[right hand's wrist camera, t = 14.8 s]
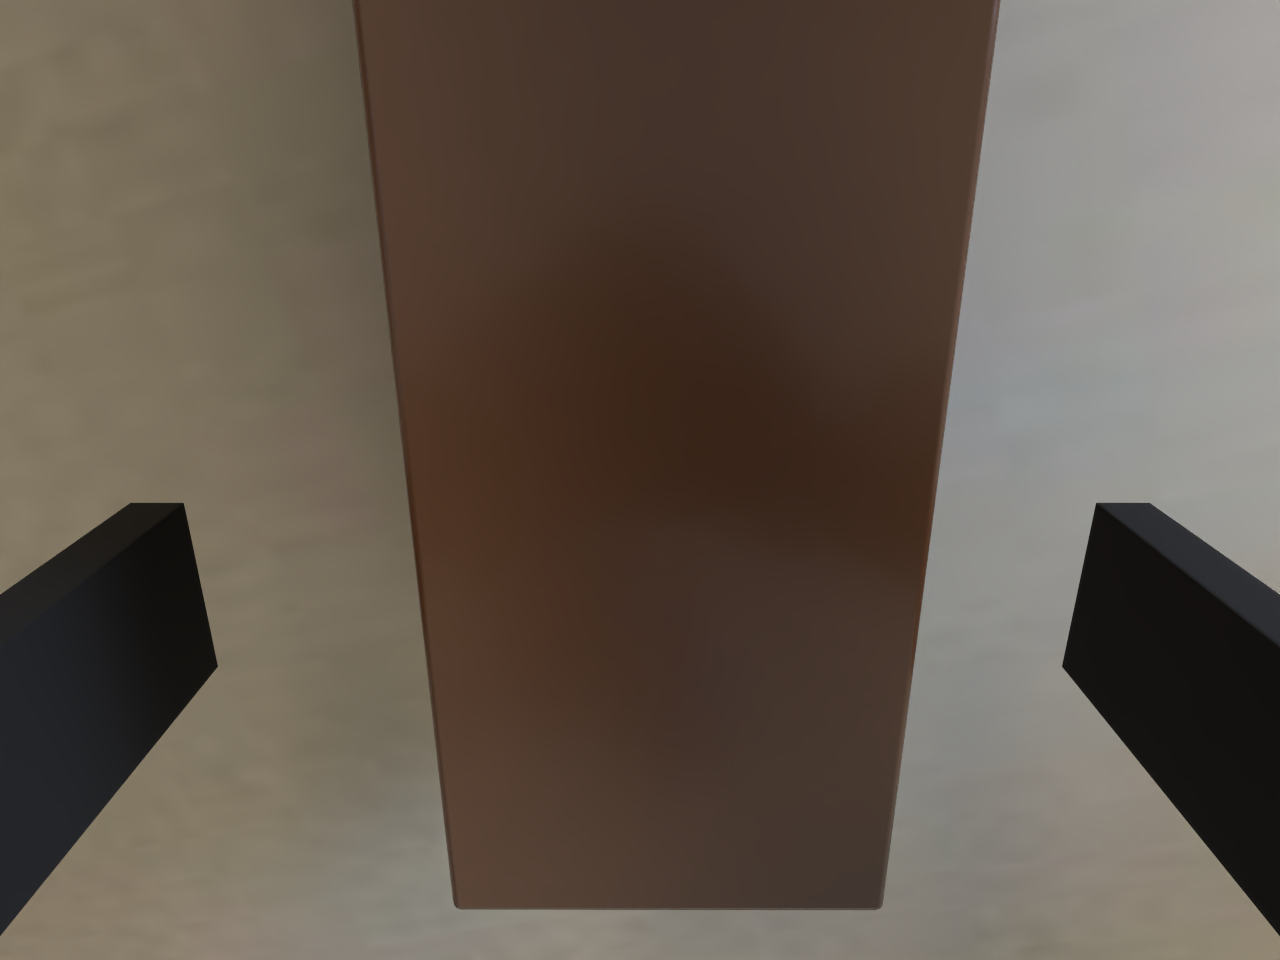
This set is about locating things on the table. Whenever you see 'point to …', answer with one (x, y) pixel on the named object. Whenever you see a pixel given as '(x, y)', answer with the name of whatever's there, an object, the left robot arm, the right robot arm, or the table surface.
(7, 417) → the table surface
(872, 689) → the walnut beam
